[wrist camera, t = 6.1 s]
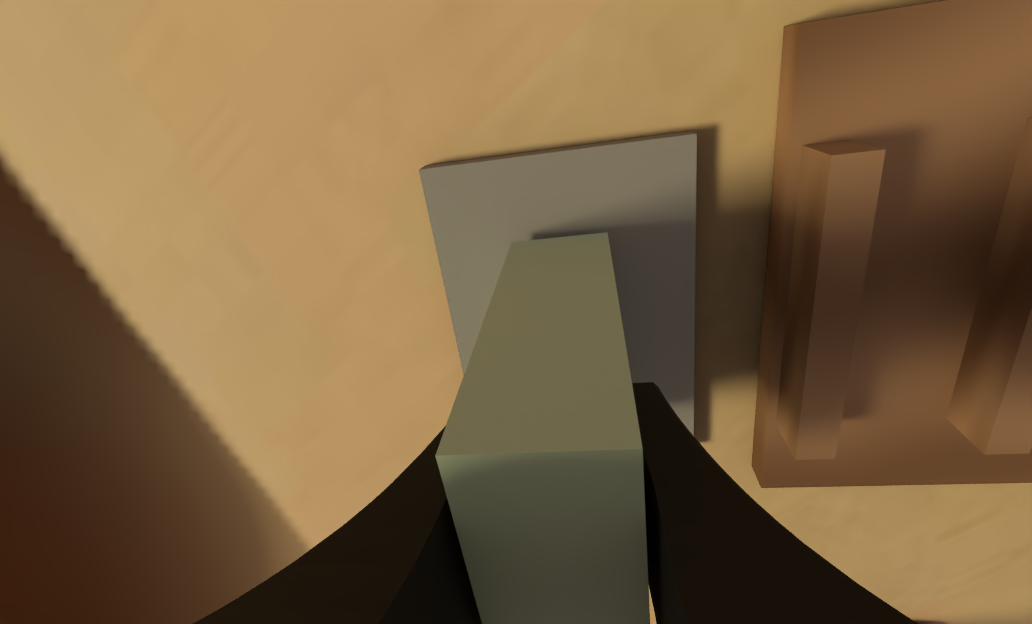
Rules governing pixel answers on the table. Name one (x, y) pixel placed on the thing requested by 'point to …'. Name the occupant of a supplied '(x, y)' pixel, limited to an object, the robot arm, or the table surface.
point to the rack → (900, 251)
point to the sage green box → (550, 446)
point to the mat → (579, 211)
